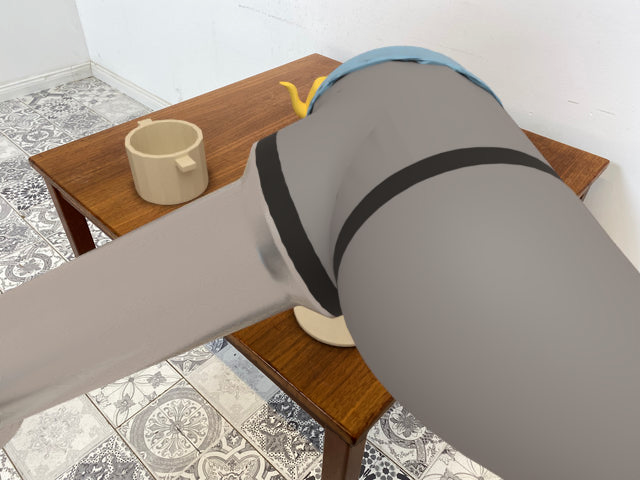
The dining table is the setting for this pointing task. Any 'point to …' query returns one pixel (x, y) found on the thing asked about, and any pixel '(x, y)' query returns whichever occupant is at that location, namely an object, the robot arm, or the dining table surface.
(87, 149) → the dining table surface
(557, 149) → the dining table surface
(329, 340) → the lid
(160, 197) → the pot
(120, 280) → the robot arm
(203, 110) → the dining table surface
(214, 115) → the dining table surface
